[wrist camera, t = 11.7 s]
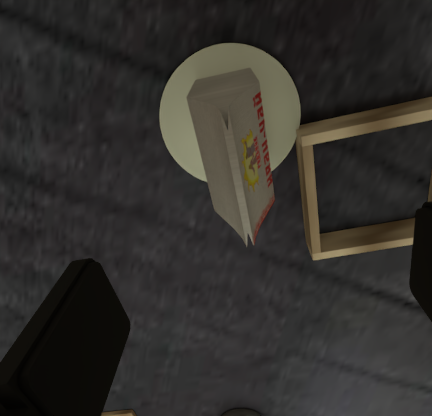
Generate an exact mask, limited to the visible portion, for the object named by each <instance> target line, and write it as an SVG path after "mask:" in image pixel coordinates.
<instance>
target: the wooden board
mask: <svg viewBox="0 0 432 416" xmlns="http://www.w3.org/2000/svg"><path fill="white" fill-rule="evenodd" d="M101 416H137V415H136V414H135V412H134V411H133V410H132V409H131V410H121V411H112V412H102V414H101Z"/></svg>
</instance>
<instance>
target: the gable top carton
mask: <svg viewBox="0 0 432 416" xmlns="http://www.w3.org/2000/svg"><path fill="white" fill-rule="evenodd" d="M186 98H187V102H188V106H189V110H190V114H191V118H192V122H193V126H194V130H195V134H196V138H197V142H198V146H199V150H200V154H201V158H202V162H203V166H204V170H205V174H206V178H207V183H208V187H209V191H210V195H211V199H212V203H213V207H214V211H216V212H217V213H218V214H219V215H220V216H221V217H222V218H223V219H224V220H225V221H226V222H227V223H228V224H230V225H231V226H232V227H233V228H234V229H235V230H236V232H237V233H238V234H239V235H240V236H241V237H242V239H243V240H244V242H245V244H246V246H247V234H249V236H250V238H251V240H252V243H253V245H254V244H255V238H256V235H257V233H258V230H259V228H260V225H261V223H262V222H263V220H264V218H265V216H266V215H267V213H268V211H269V210H270V208H271V206H272V204H273V203H274V201H275V197H274V189H273V182H272V174H271V166H270V159H269V151H268V144H267V136H266V128H265V121H264V113H263V106H262V98H261V91H260V83H259V80H258V79H257V77H256V76H255V74H254V73H253V71H252V69H251V68H245V69H241V70H237V71H232V72H228V73H223V74H219V75H214V76H210V77H205V78H201V79H197V80H195V82H194V84H193V85H192V87H191V89H190V91H189V93H188V95H187V97H186Z"/></svg>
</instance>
